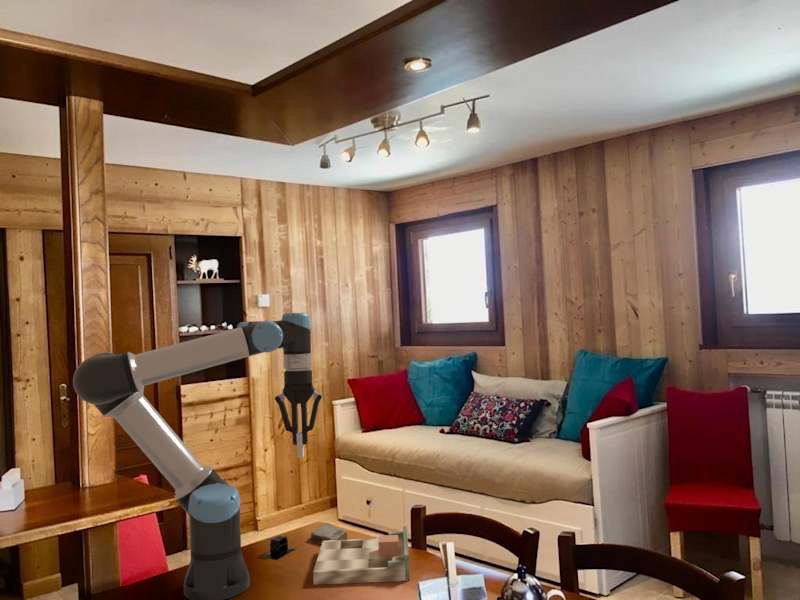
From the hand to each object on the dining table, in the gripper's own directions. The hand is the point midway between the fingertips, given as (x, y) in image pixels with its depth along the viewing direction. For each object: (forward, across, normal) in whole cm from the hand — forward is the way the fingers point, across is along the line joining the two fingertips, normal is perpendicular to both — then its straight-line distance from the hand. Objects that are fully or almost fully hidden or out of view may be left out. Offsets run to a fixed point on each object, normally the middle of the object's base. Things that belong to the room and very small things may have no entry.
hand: (300, 456), depth 177 cm
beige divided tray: (+26, +16, -9) cm, 32 cm away
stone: (+27, +6, +12) cm, 30 cm away
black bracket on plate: (+27, -7, +3) cm, 28 cm away
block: (+23, +23, -9) cm, 34 cm away
